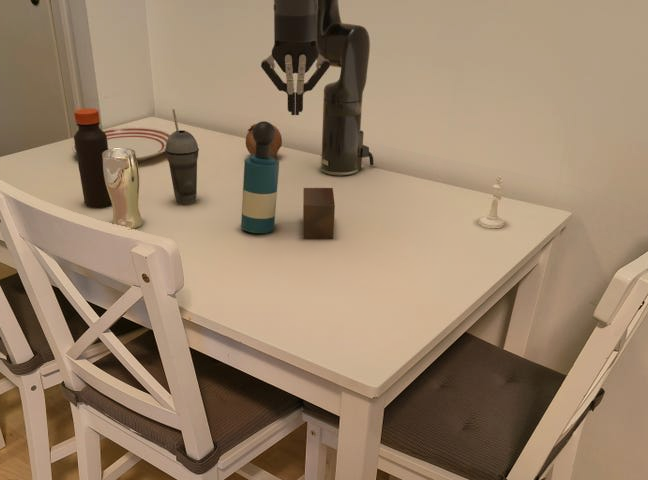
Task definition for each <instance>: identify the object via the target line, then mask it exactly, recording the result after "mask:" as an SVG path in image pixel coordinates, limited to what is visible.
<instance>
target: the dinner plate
mask: <svg viewBox="0 0 648 480" xmlns="http://www.w3.org/2000/svg"><path fill="white" fill-rule="evenodd" d="M101 130H102V131H103V132H105V134H106V136H107V143H108V150H109V149H113V148H129V149H133V150H135V153H136V159H137V163H139V162H143V161H146V160H147V161H148V160H150V159H152V158H154V157H156V156H159V155H161V154H163V153H166V152H165V149H166V142H167V140H168V138H169V136H170V135H171V134H172V133H170V132H168V131H166V130H163V129H158V128H152V127H141V126H139V127H135V126H131V127H120V128H119V127H117V128H116V127H115V128H109V129H101ZM71 149H72V151H73V153H75V154H76V148H75V142H74V141H73V143H72V145H71Z"/></svg>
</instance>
